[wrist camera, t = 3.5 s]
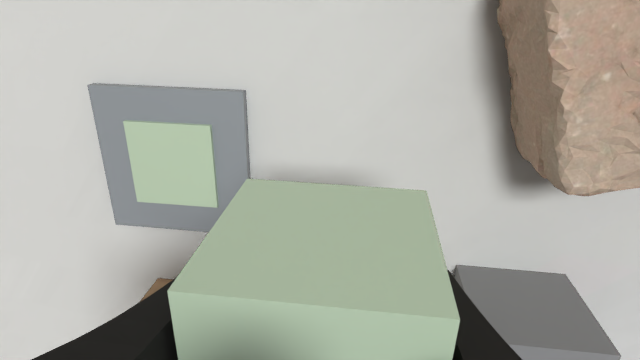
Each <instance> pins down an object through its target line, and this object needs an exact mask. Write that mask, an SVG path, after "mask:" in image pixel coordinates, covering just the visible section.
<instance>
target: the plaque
mask: <svg viewBox="0 0 640 360" xmlns="http://www.w3.org/2000/svg"><path fill="white" fill-rule="evenodd" d="M88 90H89V95H90V100H91V105H92V110H93V115H94V120H95V125H96V129H97V134H98V139H99V144H100V149H101V154H102V159H103V164H104V169H105V174H106V179H107V184H108V189H109V194H110V198H111V203H112V208H113V213H114V218H115V223H116V224H117V225H129V226H142V227H154V228H166V229H178V230H191V231H203V232H209V231H210V230H211V229H212V227H213V226H214V224H215V223H216V222H217V220H218V219H219V217H220V216H221V215H222V213H223V212H224V210H225V209H226V207H227V206H228V205H229V203H230V202H231V200H232V199H233V198H234V196H235V195H236V193H237V192H238V191H239V189H240V188H241V186H242V185H243V184H244V182H245V181H246V179H250V163H249V144H248V125H247V106H246V90H231V89H208V88H186V87H164V86H142V85H119V84H97V83H92V84H89V85H88Z"/></svg>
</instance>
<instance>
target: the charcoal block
mask: <svg viewBox="0 0 640 360" xmlns="http://www.w3.org/2000/svg"><path fill="white" fill-rule="evenodd" d="M454 278H455V279H456V281H457V282H458V283H459V285H460V286H461V287H462V289H463V290H464V291H465V293H466V294H467V295H468V297H469V298H470V299H471V301H472V302H473V303H474V304H475V306H476V307H477V308H478V310H479V311H480V312H481V313H482V315H483V316H484V317H485V318H486V319H487V321H488V322H489V323H490V324H491V325H492V327H493V328H494V329H495V330H496V331H497V332H498V334H499V335H500V336H501V337H502V338H503V339H504V340H505V342H506V343H507V344H508V345H509V346H510V347H511V348H512V349H513V350H514V351H515V352H516V353H517V354H518V355H519V357H520V358H521V359H522V360H620V357H621V355H620V353H619V352H618V351H617V349H616V348H615V346H614V345H613V343H612V342H611V340H610V339H609V337H608V336H607V334H606V333H605V331H604V330H603V329H602V327H601V326H600V324H599V323H598V321H597V320H596V318H595V317H594V315H593V314H592V312H591V311H590V310H589V308H588V307H587V305H586V304H585V302H584V301H583V299H582V298H581V296H580V295H579V293H578V292H577V290H576V289H575V288H574V286H573V285H572V283H571V282H570V280H569V279H568V277H567V276H566V274H557V273H546V272H534V271H523V270H511V269H499V268H488V267H476V266H465V265H456V270H455V275H454Z"/></svg>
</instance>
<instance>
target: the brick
mask: <svg viewBox="0 0 640 360" xmlns="http://www.w3.org/2000/svg"><path fill="white" fill-rule="evenodd" d="M499 4H500V5H499V8H498V9H497V21H498V24H499V26H500V28H501V30H502V35H503V36H504V38H505V48H506V49H507V54H508V67H509V75H510V76H511V78H510V81H511V83H512V86H511V89H510V96H511V102H512V105H511V115H510V117H511V126H512V129H513V132H514V136H515V143H516V147H517V149H518V151H519V152H520V154H521V156H522V157H523V159H525V160H527V161H529V162H531V164H532V165H533V167H534V169H535V170H536V171H537V172H538V173H539V174H540V175H541V176H542V177H543V178H547V179H548V180H549V181H550V182H551V183H552V184H553V186H554V187H556V188H558V189H560V190H561V191H563V192H565V193H567V194H568V195H579V196H592V195H596V194H601V193H606V192H612V191H617V190H625V189H633V188H640V0H499Z"/></svg>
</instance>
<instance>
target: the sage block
mask: <svg viewBox="0 0 640 360" xmlns="http://www.w3.org/2000/svg"><path fill="white" fill-rule="evenodd" d="M167 292H168V299H169V305H170V311H171V318H172V324H173V330H174V337H175V343H176V349H177V356H178V360H452V359H453V354H454V349H455V344H456V338H457V333H458V328H459V323H460V317H459V313H458V309H457V305H456V302H455V298H454V294H453V290H452V286H451V283H450V279H449V275H448V271H447V267H446V263H445V260H444V256H443V252H442V248H441V244H440V241H439V237H438V233H437V229H436V225H435V221H434V218H433V214H432V210H431V206H430V202H429V199H428V195H427V191H424V190H409V189H394V188H379V187H364V186H350V185H335V184H320V183H305V182H290V181H275V180H261V179H246V181H245V182H244V184H243V185H242V186H241V188H240V189H239V191H238V192H237V193H236V195H235V196H234V198H233V199H232V200H231V202H230V203H229V205H228V206H227V207H226V209H225V210H224V212H223V213H222V215H221V216H220V217H219V219H218V220H217V222H216V223H215V224H214V226H213V227H212V229H211V230H210V231H209V233H208V234H207V236H206V237H205V238H204V240H203V241H202V243H201V244H200V246H199V247H198V248H197V250H196V251H195V253H194V254H193V255H192V257H191V258H190V260H189V261H188V262H187V264H186V265H185V267H184V268H183V270H182V271H181V272H180V274H179V275H178V277H177V278H176V279H175V281H174V282H173V284H172V285H171V286H170V288H169V289H168V291H167Z"/></svg>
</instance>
